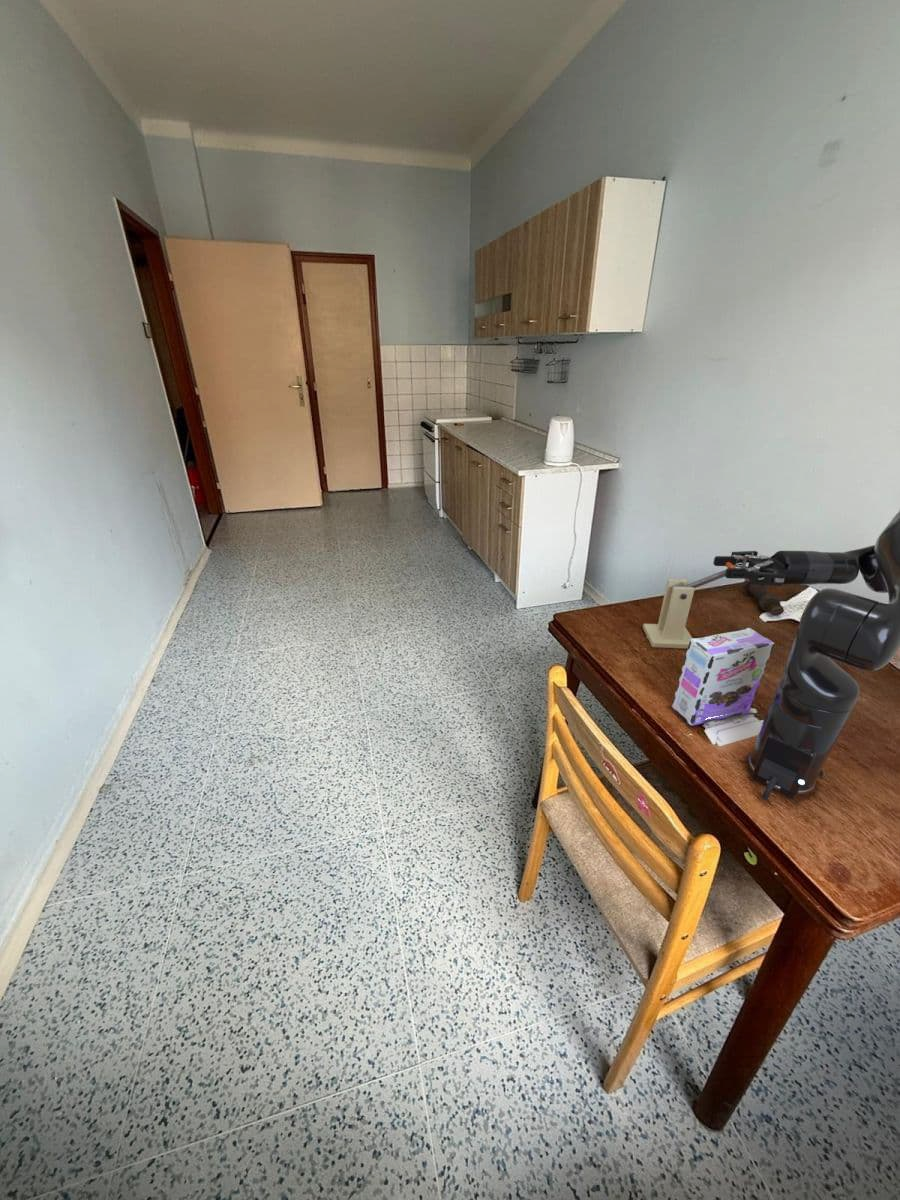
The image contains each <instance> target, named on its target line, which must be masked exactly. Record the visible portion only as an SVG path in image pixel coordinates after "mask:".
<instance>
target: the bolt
mask: <svg viewBox="0 0 900 1200" xmlns="http://www.w3.org/2000/svg"><path fill="white" fill-rule="evenodd" d="M762 580H764V579H762ZM741 588H742V590H743V592H744V594H745V595H750V596H751V595H753V596H754V597H755V599H756V600H757V601H758V605H759V607H760V609H761V610H762V612H767V613H769V614H770V615H771V616H773V617H777V616H778V617H779V616H780V615H782V614H784V612H785V608H784V607H783V605H781V600H780V598H779V596H778V595H777V594H772V593H770V592H769V591H768V590H767V589H766V585H760V584H752V583H751V580H749V581H748V580H744V581H743V582H742V583H741Z"/></svg>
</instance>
